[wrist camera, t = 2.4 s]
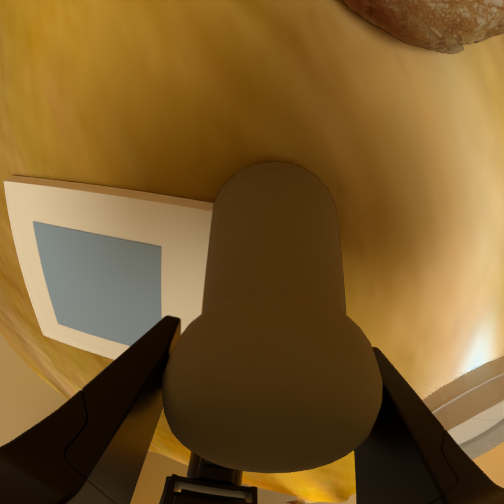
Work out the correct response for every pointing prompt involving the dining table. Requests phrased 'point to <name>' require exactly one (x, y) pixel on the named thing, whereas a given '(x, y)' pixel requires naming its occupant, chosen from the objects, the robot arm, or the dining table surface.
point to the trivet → (107, 259)
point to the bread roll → (435, 21)
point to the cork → (273, 334)
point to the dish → (473, 408)
